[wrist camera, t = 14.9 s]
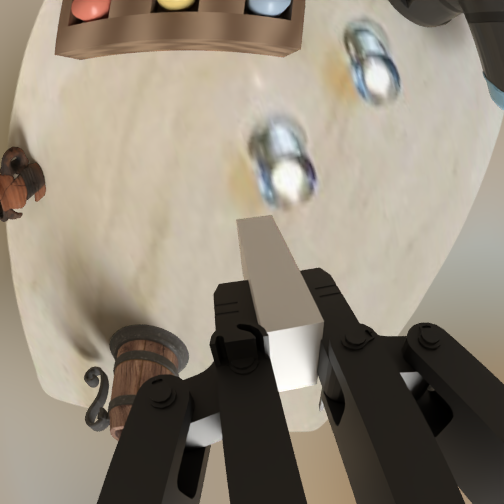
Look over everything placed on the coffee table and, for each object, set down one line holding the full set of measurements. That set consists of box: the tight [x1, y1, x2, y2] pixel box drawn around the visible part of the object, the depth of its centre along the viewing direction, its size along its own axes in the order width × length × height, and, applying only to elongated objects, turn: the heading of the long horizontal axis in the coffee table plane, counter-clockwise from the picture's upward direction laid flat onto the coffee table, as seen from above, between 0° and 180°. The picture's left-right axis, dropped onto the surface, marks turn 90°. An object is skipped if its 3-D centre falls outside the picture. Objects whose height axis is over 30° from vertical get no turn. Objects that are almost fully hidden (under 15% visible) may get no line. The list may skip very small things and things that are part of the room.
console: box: [55, 0, 305, 60], centre depth 25 cm, size 28×12×8 cm, turn 84°
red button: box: [71, 0, 111, 22], centre depth 21 cm, size 4×4×4 cm
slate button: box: [245, 0, 291, 18], centre depth 24 cm, size 4×4×4 cm
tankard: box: [84, 325, 189, 441], centre depth 47 cm, size 24×17×20 cm
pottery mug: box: [0, 147, 46, 222], centre depth 33 cm, size 12×10×8 cm
